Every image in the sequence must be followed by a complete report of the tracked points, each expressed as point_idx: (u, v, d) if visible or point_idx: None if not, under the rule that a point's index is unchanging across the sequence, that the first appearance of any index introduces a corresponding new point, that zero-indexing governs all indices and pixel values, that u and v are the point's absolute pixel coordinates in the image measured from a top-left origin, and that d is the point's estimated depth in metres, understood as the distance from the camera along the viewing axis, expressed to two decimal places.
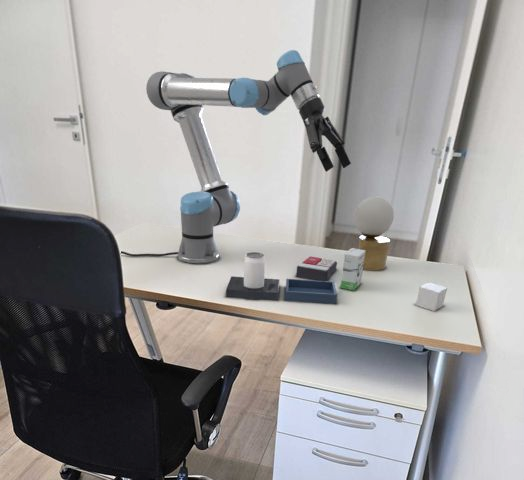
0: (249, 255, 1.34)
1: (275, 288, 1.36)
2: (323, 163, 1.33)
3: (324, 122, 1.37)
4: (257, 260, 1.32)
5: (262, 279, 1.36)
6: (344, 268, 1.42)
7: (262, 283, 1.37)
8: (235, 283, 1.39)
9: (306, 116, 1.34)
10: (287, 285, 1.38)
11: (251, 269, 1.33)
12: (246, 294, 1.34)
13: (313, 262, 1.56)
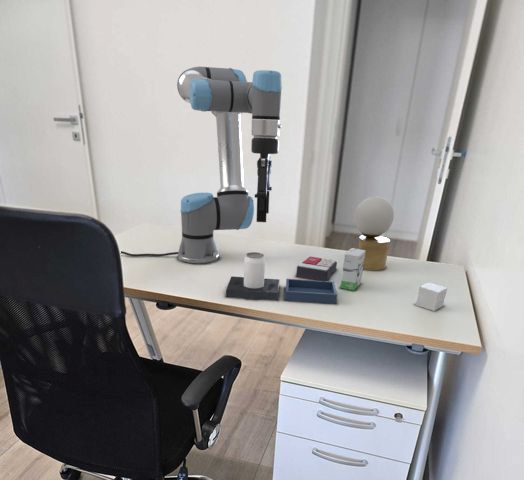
0: (249, 255, 1.34)
1: (275, 288, 1.36)
2: (258, 213, 1.22)
3: None
4: (257, 260, 1.32)
5: (262, 279, 1.36)
6: (344, 268, 1.42)
7: (262, 283, 1.37)
8: (235, 283, 1.39)
9: (260, 152, 1.18)
10: (287, 285, 1.38)
11: (251, 269, 1.33)
12: (246, 294, 1.34)
13: (313, 262, 1.56)
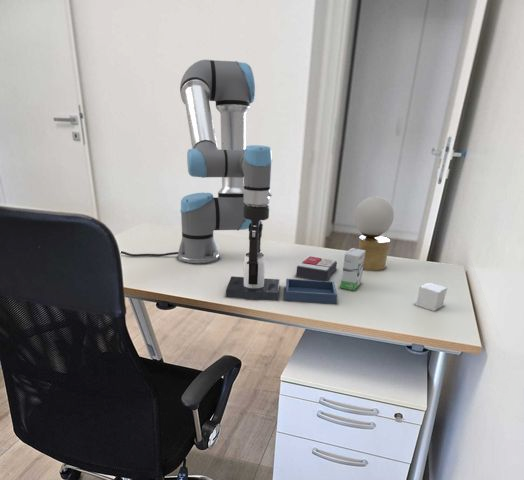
0: None
1: (275, 288, 1.36)
2: (250, 276, 1.33)
3: None
4: None
5: (262, 279, 1.36)
6: (344, 268, 1.42)
7: (262, 283, 1.37)
8: (235, 283, 1.39)
9: (251, 219, 1.25)
10: (287, 285, 1.38)
11: None
12: (246, 294, 1.34)
13: (313, 262, 1.56)
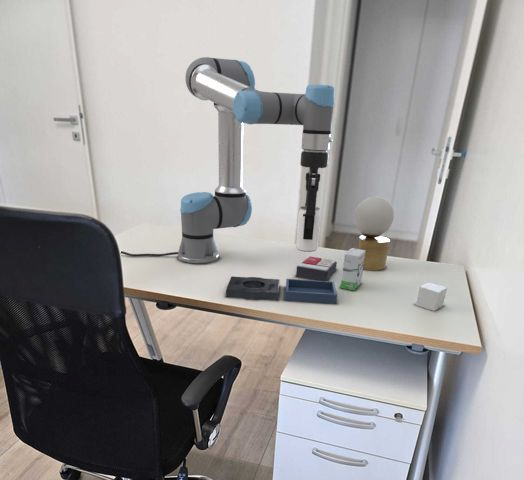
0: (304, 208, 1.26)
1: (275, 288, 1.36)
2: (305, 230, 1.25)
3: None
4: None
5: (317, 234, 1.28)
6: (344, 268, 1.42)
7: (317, 239, 1.29)
8: (235, 283, 1.39)
9: (310, 166, 1.17)
10: (287, 285, 1.38)
11: None
12: (246, 294, 1.34)
13: (313, 262, 1.56)
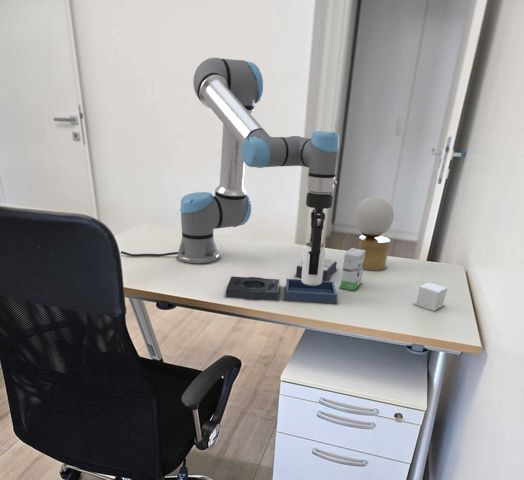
0: (309, 245, 1.32)
1: (275, 288, 1.36)
2: (310, 266, 1.30)
3: None
4: None
5: (322, 269, 1.33)
6: (344, 268, 1.42)
7: (321, 274, 1.34)
8: (235, 283, 1.39)
9: (316, 207, 1.23)
10: (287, 285, 1.38)
11: None
12: (246, 294, 1.34)
13: None
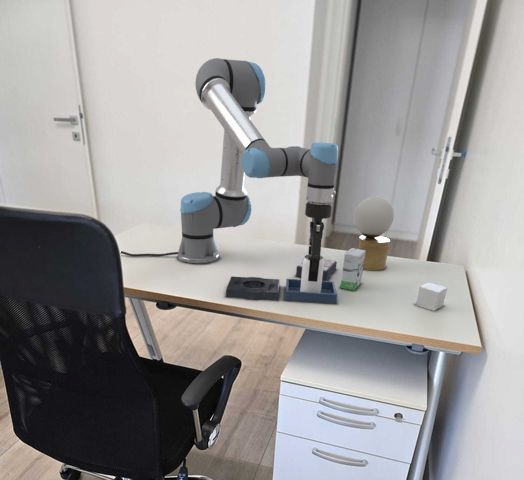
0: (308, 257, 1.33)
1: (275, 288, 1.36)
2: (310, 273, 1.28)
3: None
4: None
5: (320, 281, 1.35)
6: (344, 268, 1.42)
7: (320, 285, 1.36)
8: (235, 283, 1.39)
9: (315, 217, 1.24)
10: (287, 285, 1.38)
11: None
12: (246, 294, 1.34)
13: None
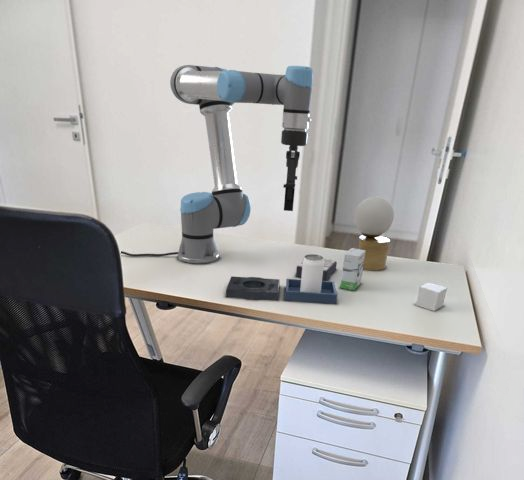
0: (308, 257, 1.33)
1: (275, 288, 1.36)
2: (286, 202, 1.29)
3: None
4: (317, 263, 1.31)
5: (320, 281, 1.35)
6: (344, 268, 1.42)
7: (320, 285, 1.36)
8: (235, 283, 1.39)
9: (290, 144, 1.25)
10: (287, 285, 1.38)
11: (310, 271, 1.32)
12: (246, 294, 1.34)
13: None
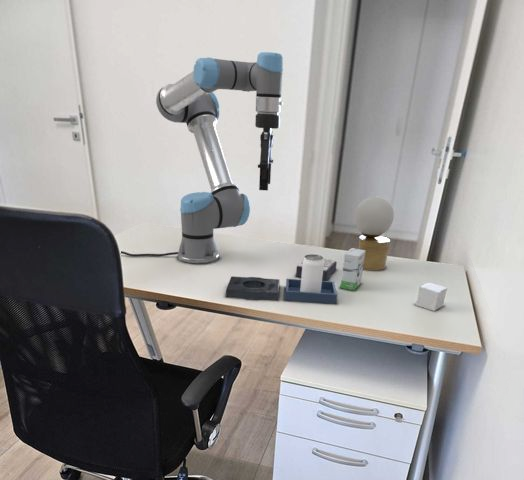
0: (308, 257, 1.33)
1: (275, 288, 1.36)
2: (261, 182, 1.37)
3: None
4: (317, 263, 1.31)
5: (320, 281, 1.35)
6: (344, 268, 1.42)
7: (320, 285, 1.36)
8: (235, 283, 1.39)
9: (263, 127, 1.32)
10: (287, 285, 1.38)
11: (310, 271, 1.32)
12: (246, 294, 1.34)
13: None
